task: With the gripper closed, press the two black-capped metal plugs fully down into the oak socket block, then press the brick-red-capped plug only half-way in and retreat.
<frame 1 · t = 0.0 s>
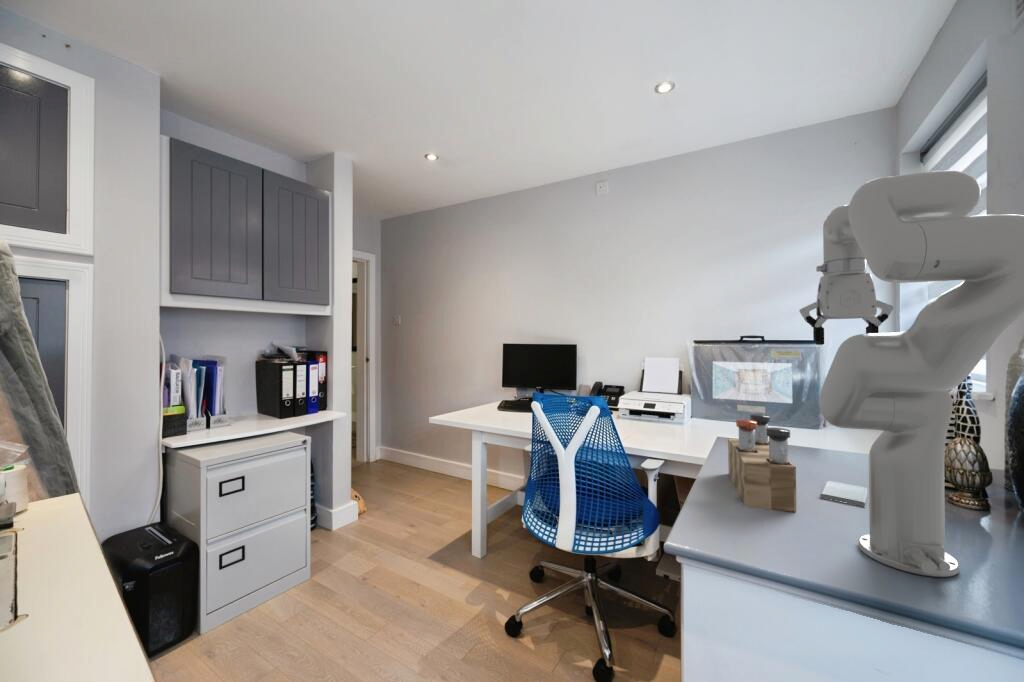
hand: (845, 344, 94), 37 cm above the counter, tool pointing down, fingers open, 9 cm apart
hard drive: (844, 497, 100), on the counter
plug near: (778, 455, 95), point 11 cm above the counter, slide at 0.0 cm
plug far: (760, 437, 112), point 11 cm above the counter, slide at 0.0 cm
plug mid: (746, 444, 105), point 11 cm above the counter, slide at 0.0 cm
socket block: (758, 490, 104), on the counter
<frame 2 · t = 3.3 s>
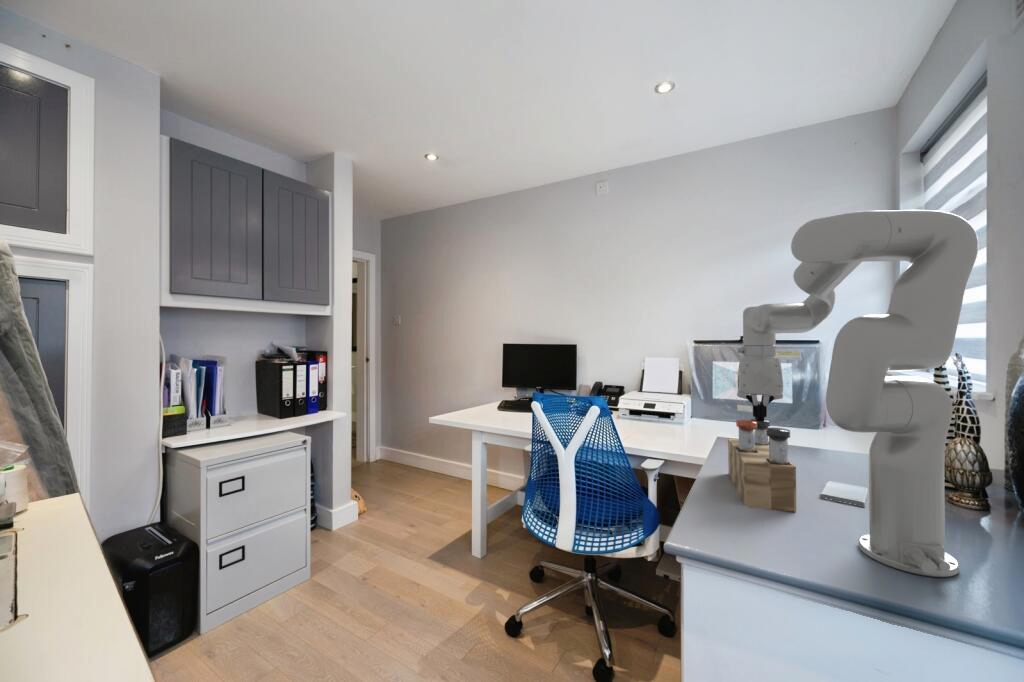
hand: (759, 419, 112), 16 cm above the counter, tool pointing down, fingers closed
plug far: (760, 441, 112), point 10 cm above the counter, slide at 1.2 cm, touching gripper
everything else where it was.
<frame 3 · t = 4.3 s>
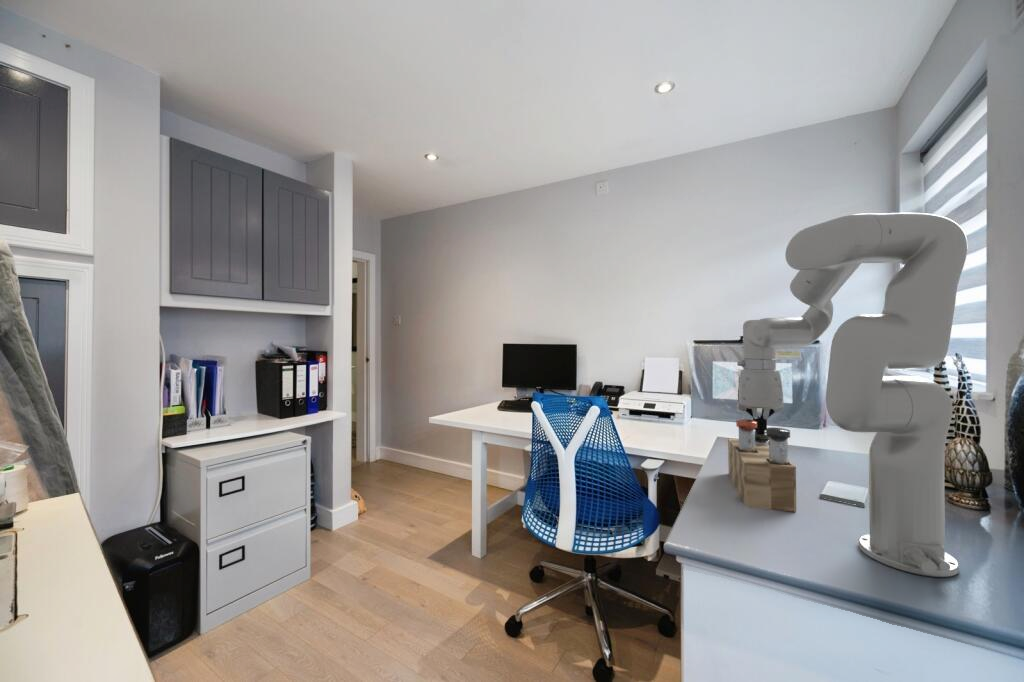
hand: (759, 432, 112), 13 cm above the counter, tool pointing down, fingers closed
plug far: (760, 454, 112), point 7 cm above the counter, slide at 4.7 cm, touching gripper
everything else where it was.
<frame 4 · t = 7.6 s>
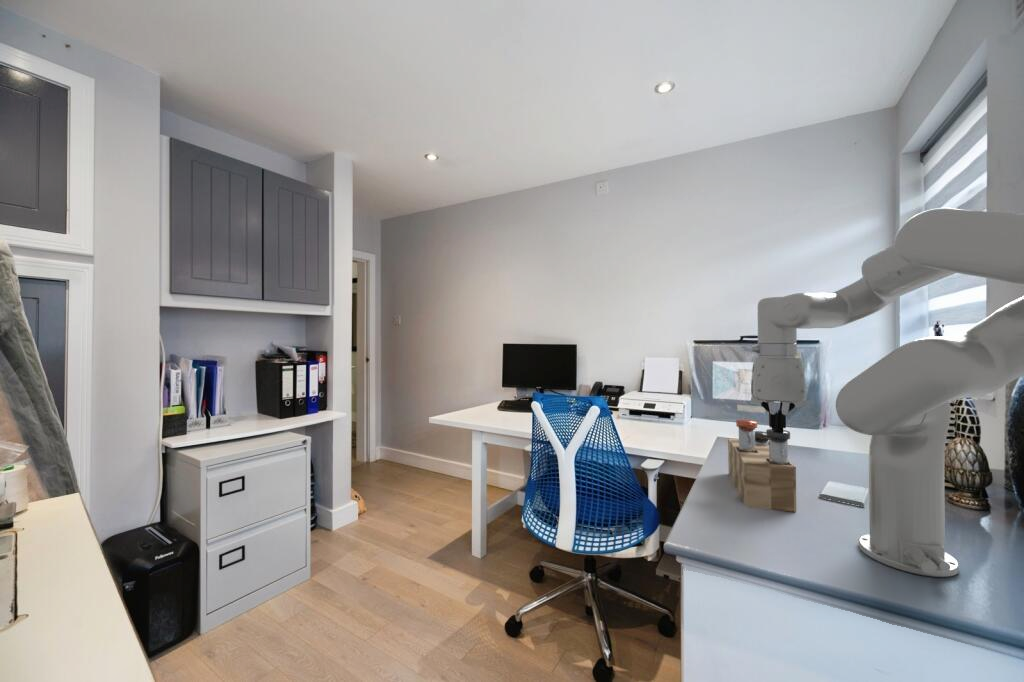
hand: (777, 430, 95), 17 cm above the counter, tool pointing down, fingers closed
plug near: (778, 457, 95), point 11 cm above the counter, slide at 0.3 cm, touching gripper
plug far: (760, 454, 112), point 7 cm above the counter, slide at 4.8 cm
everything else where it was.
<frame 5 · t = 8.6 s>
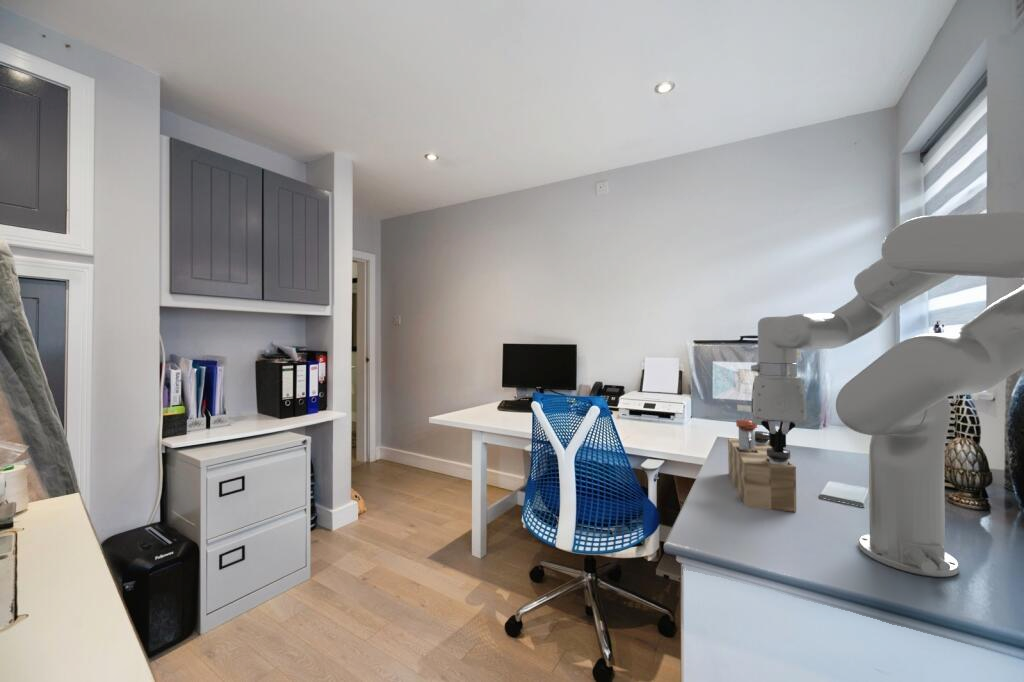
hand: (777, 450, 95), 13 cm above the counter, tool pointing down, fingers closed
plug near: (778, 476, 95), point 7 cm above the counter, slide at 4.7 cm, touching gripper
everything else where it was.
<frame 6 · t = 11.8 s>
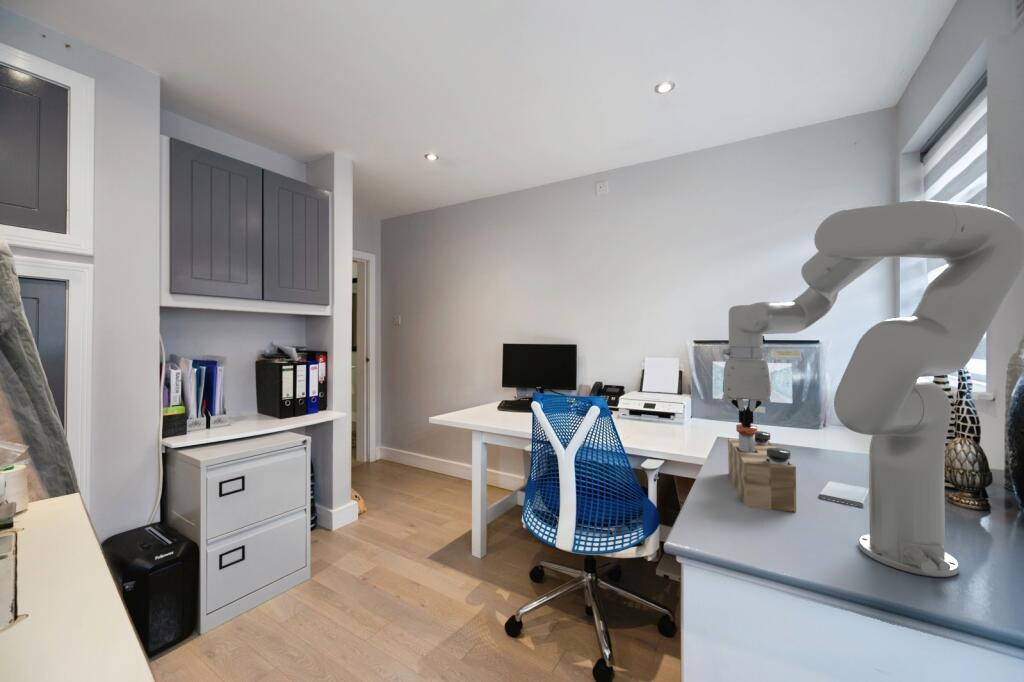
hand: (745, 425, 105), 16 cm above the counter, tool pointing down, fingers closed
plug near: (778, 476, 95), point 7 cm above the counter, slide at 4.8 cm
plug mid: (746, 449, 105), point 10 cm above the counter, slide at 1.3 cm, touching gripper
everything else where it was.
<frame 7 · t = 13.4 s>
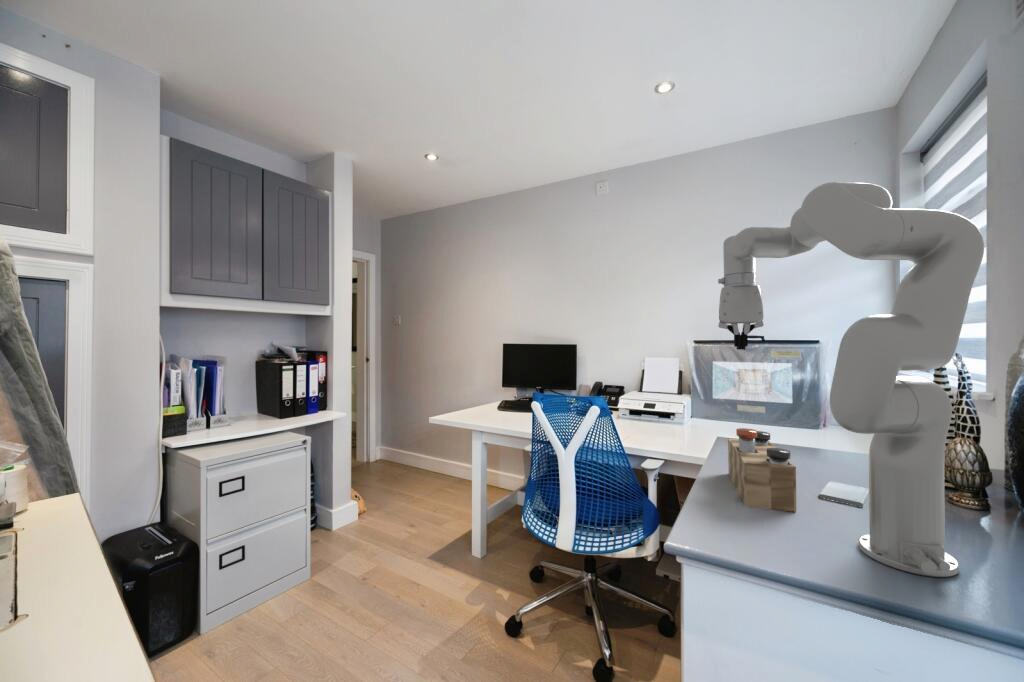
hand: (740, 349, 112), 35 cm above the counter, tool pointing down, fingers closed
plug mid: (747, 453, 105), point 9 cm above the counter, slide at 2.4 cm
everything else where it was.
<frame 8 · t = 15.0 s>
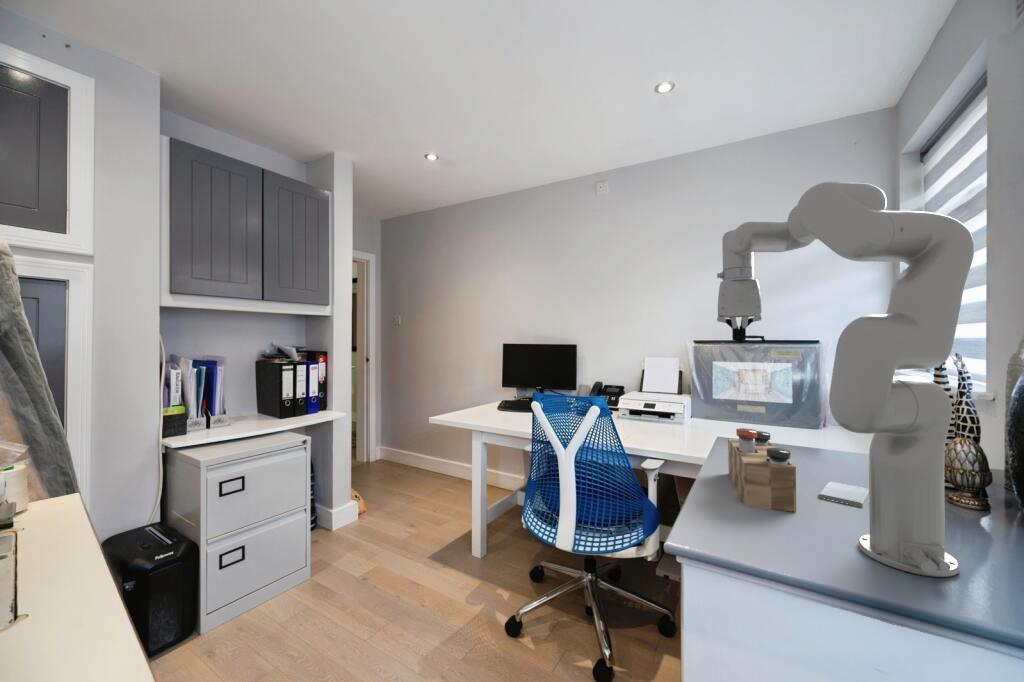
hand: (739, 342, 113), 37 cm above the counter, tool pointing down, fingers closed
nothing on the counter moved.
at the end: plug far slide at 4.8 cm; plug near slide at 4.8 cm; plug mid slide at 2.4 cm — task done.
